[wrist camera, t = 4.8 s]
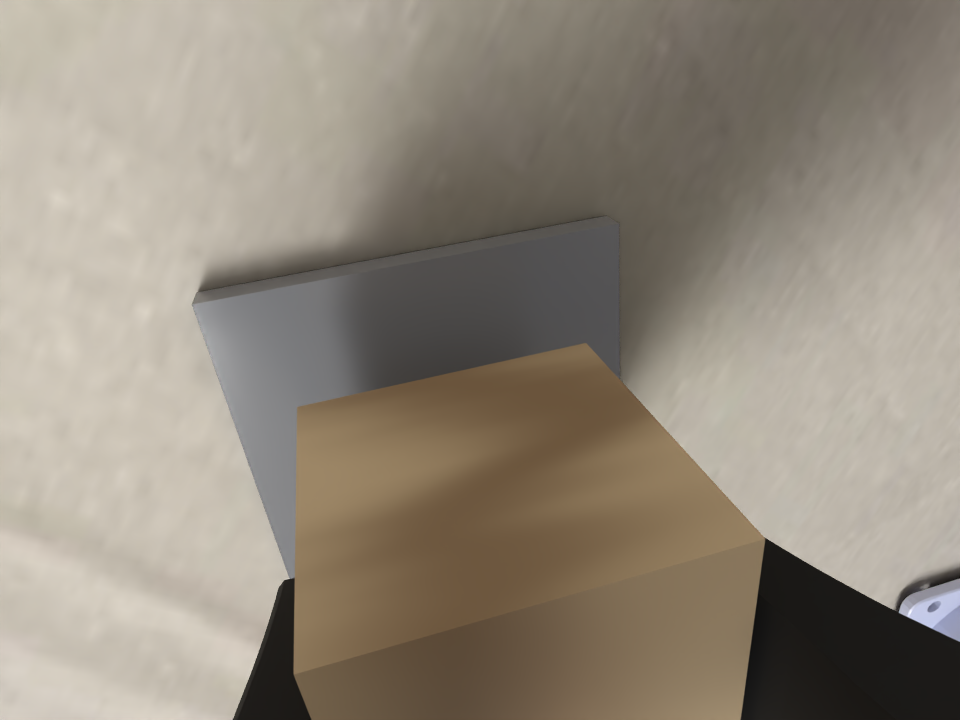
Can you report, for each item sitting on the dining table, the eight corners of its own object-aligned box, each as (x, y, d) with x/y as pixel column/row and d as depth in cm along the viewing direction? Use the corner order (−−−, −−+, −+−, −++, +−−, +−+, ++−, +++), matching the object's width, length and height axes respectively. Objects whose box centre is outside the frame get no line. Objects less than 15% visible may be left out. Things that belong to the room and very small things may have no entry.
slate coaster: (606, 215, 13) (618, 223, 12) (610, 514, 17) (620, 529, 16) (196, 292, 12) (192, 304, 11) (303, 596, 15) (303, 616, 15)
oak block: (585, 342, 11) (765, 539, 7) (594, 550, 14) (730, 793, 9) (296, 406, 10) (294, 674, 6) (359, 616, 13) (389, 915, 8)
